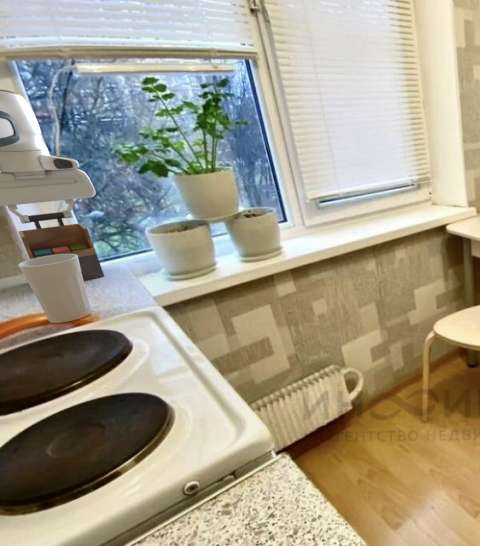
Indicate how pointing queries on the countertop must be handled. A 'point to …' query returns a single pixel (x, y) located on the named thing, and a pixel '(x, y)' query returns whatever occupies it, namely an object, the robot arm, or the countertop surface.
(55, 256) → the cup
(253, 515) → the countertop surface
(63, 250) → the packet middle
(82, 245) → the packet right
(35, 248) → the basket
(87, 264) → the basket stand
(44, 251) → the packet left
